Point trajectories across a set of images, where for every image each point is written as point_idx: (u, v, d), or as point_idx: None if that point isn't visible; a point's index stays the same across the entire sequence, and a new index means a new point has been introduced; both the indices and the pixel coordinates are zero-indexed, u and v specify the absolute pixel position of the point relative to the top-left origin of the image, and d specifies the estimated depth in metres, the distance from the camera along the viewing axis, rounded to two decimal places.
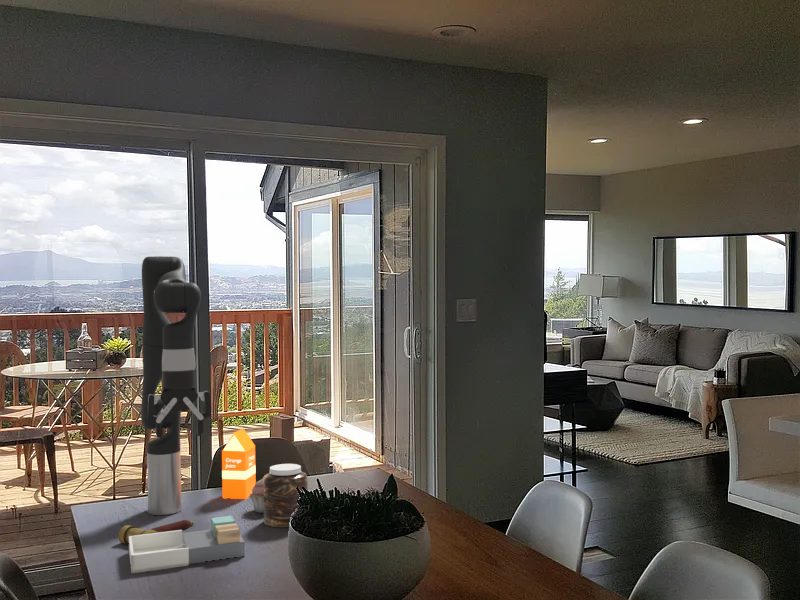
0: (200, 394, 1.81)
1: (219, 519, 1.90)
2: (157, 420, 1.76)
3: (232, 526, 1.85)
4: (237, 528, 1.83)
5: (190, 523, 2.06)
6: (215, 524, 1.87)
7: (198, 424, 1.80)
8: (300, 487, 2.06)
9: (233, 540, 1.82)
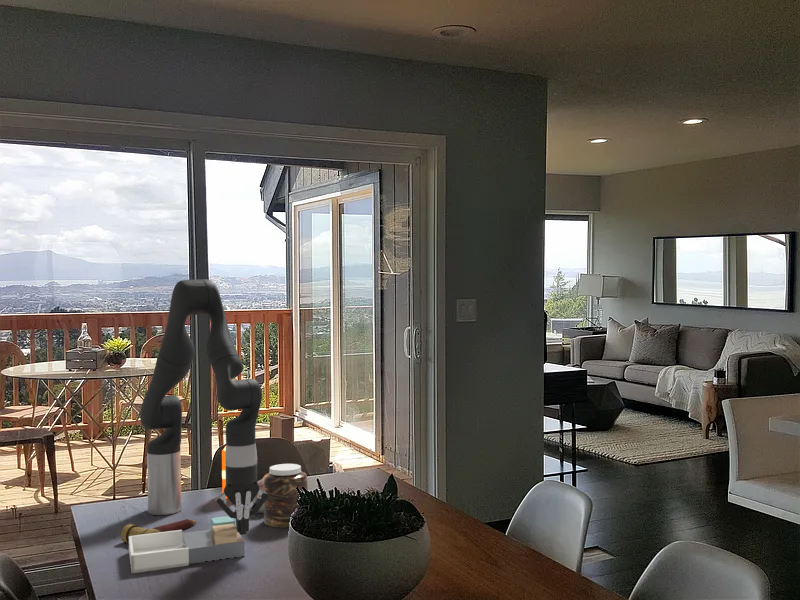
0: (260, 492, 1.87)
1: (219, 519, 1.90)
2: (238, 518, 1.84)
3: (229, 526, 1.85)
4: (234, 528, 1.83)
5: (192, 522, 2.07)
6: (215, 524, 1.87)
7: (244, 523, 1.85)
8: (300, 487, 2.06)
9: (230, 540, 1.82)
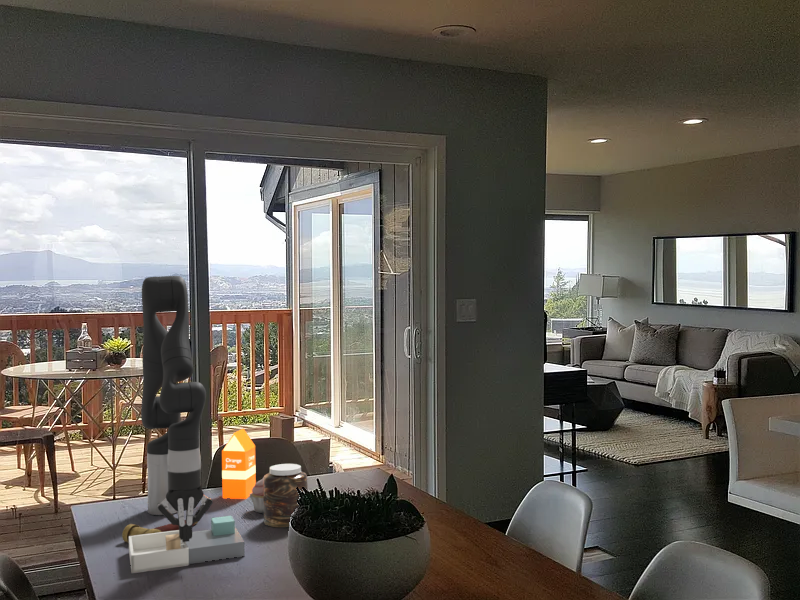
0: (204, 498, 1.82)
1: (219, 519, 1.90)
2: (181, 524, 1.79)
3: (166, 543, 1.79)
4: (166, 542, 1.77)
5: None
6: (215, 524, 1.87)
7: (187, 530, 1.80)
8: (300, 487, 2.06)
9: (178, 546, 1.78)
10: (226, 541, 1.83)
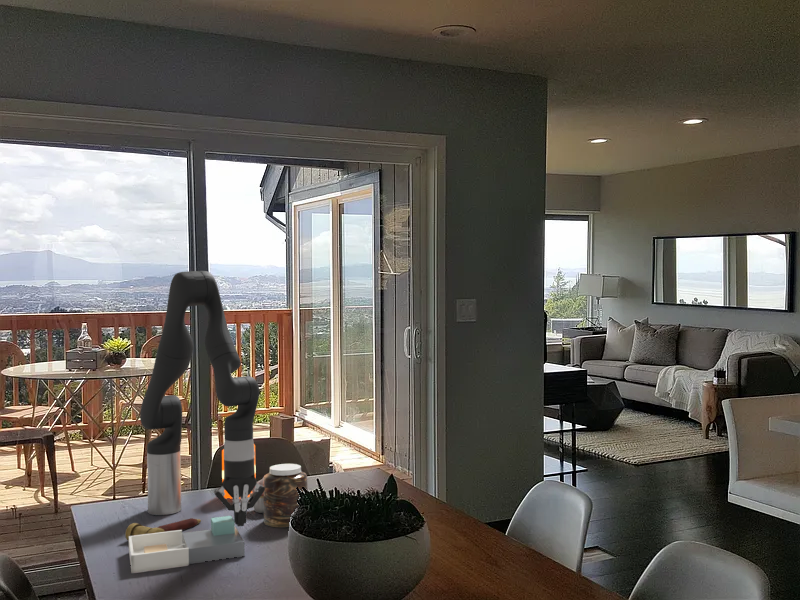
0: (257, 485, 1.93)
1: (219, 519, 1.90)
2: (236, 510, 1.91)
3: None
4: None
5: (197, 521, 2.08)
6: (215, 524, 1.87)
7: (241, 515, 1.91)
8: (300, 487, 2.06)
9: None
10: (226, 541, 1.83)
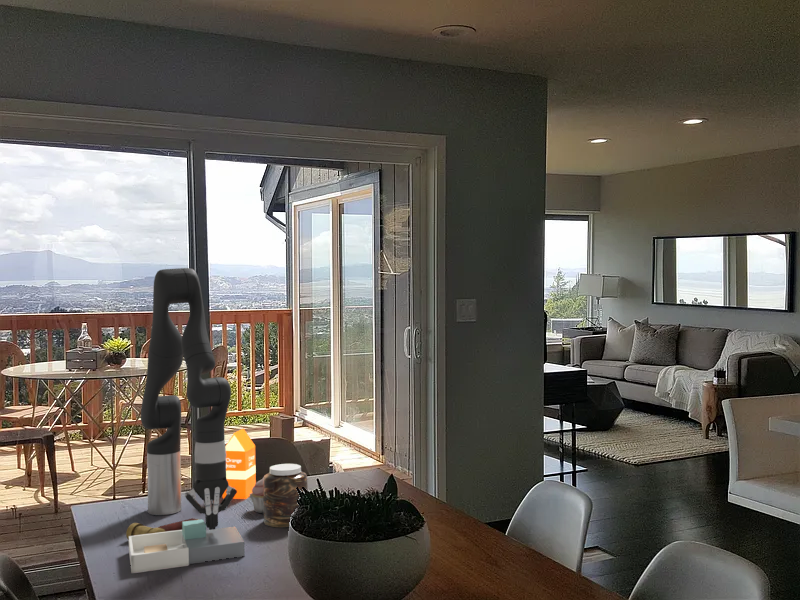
0: (229, 488, 1.91)
1: (190, 523, 1.87)
2: (207, 513, 1.88)
3: None
4: None
5: None
6: (186, 528, 1.85)
7: (213, 518, 1.89)
8: (300, 487, 2.06)
9: None
10: (226, 541, 1.83)
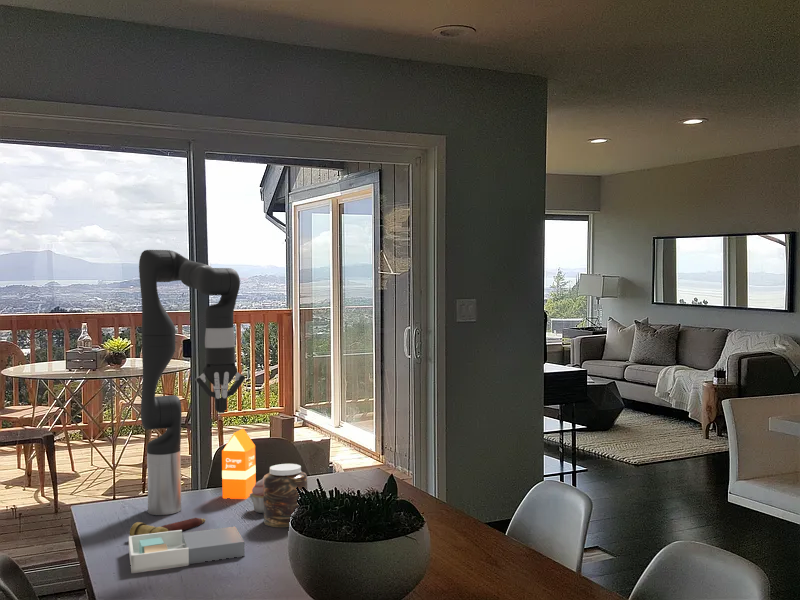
0: (238, 374, 1.99)
1: None
2: (217, 397, 1.96)
3: None
4: None
5: (201, 521, 2.08)
6: None
7: (222, 402, 1.97)
8: (300, 487, 2.06)
9: None
10: (226, 541, 1.83)
